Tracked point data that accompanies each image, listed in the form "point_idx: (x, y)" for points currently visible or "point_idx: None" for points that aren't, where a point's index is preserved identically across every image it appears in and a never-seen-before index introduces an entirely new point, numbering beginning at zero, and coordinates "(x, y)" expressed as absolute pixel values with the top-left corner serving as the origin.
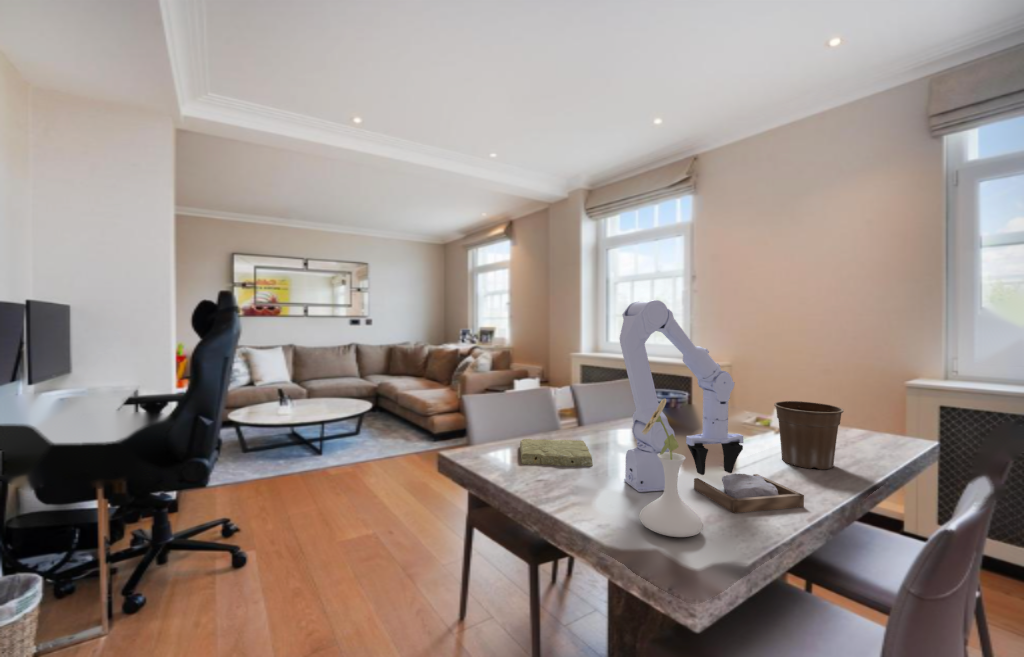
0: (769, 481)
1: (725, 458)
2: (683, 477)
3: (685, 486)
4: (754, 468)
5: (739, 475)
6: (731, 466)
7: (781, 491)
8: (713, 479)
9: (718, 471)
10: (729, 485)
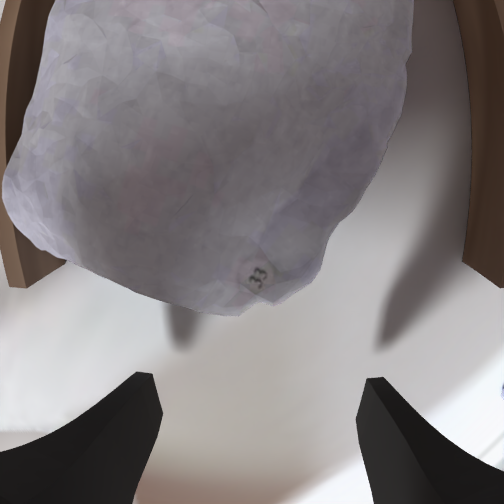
0: (4, 135)
1: (131, 475)
2: None
3: (486, 304)
4: (14, 406)
5: (153, 231)
6: (125, 399)
7: (31, 40)
8: (252, 382)
9: (155, 444)
10: (352, 118)
